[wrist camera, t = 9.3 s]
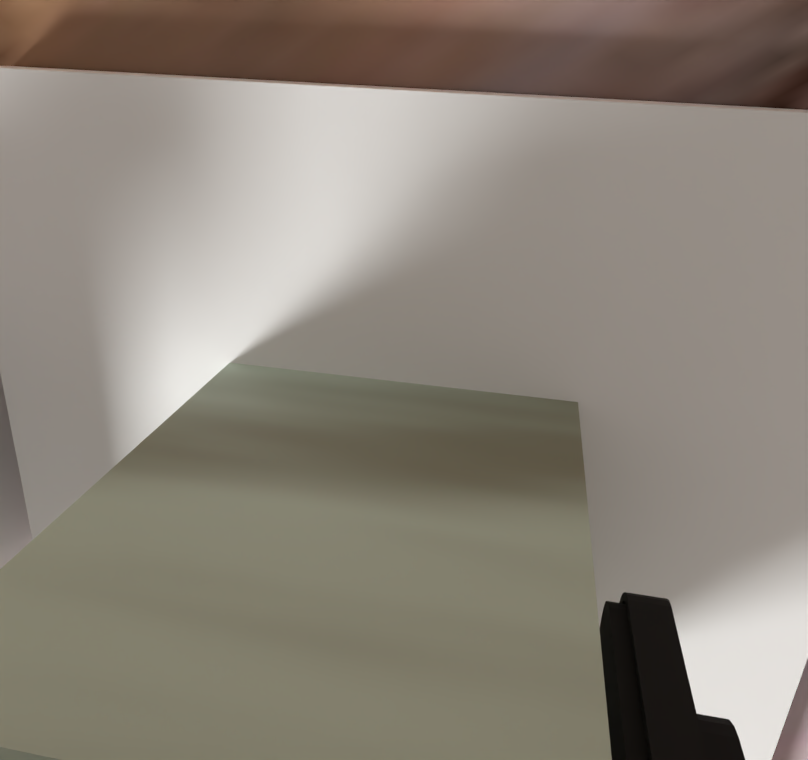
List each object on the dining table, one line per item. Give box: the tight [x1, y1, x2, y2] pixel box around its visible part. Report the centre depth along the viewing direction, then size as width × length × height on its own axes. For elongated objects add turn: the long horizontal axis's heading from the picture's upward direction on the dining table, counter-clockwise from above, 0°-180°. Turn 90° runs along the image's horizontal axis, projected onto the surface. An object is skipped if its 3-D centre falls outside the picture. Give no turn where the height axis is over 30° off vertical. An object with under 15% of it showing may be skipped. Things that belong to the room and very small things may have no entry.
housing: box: [0, 363, 612, 760], centre depth 9 cm, size 6×6×7 cm
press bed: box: [0, 66, 808, 760], centre depth 11 cm, size 14×22×6 cm, turn 87°
